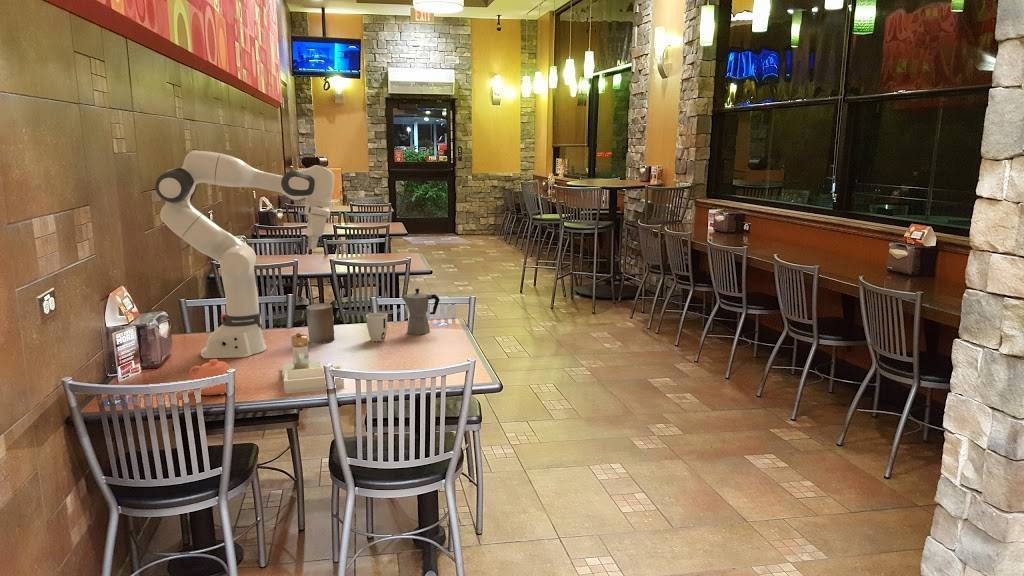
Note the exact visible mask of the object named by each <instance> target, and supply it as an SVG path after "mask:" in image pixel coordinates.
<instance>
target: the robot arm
mask: <svg viewBox="0 0 1024 576" xmlns="http://www.w3.org/2000/svg"><path fill="white" fill-rule="evenodd" d="M202 183H203V184H210V185H215V186H220V187H230V188H257V189H261V190H265V191H271V192H275V193H277V194H278V193H279V194H281V195H283V196H284V197H285V198H288V199H289V200H290V201H294V202H303V201H305V205H304V206H305V207H304V215H307V217H306V218H307V220H308V221H307V229H306V237H308V244H307V248H308V250H317V246H318V241H319V239H320V237H322V236H323V235H324V231H325V226H326V223H327V219H329V218H330V215H331V211H332V210H331V208H332V197H333V195H334V189H335V174H334V172H333V171H332V170H331V169H330V168H329V167H325V166H323V165H318V164H315V165H312V166H310V167H307V168H304V169H298V170H297V169H296V170H289V171H287V172H286V173H284V175H279V174H275V173H271V172H266V171H261V170H260V169H257V168H255V167H252V166H251V165H249V164H248V163H246V162H245V161H243V160H242V159H241V158H240V159H239V158H237V157H234V156H233V155H229V154H225V153H221V152H220V153H219V152H215V151H204V150H192V151H189V152H188V153H187V154H186V155H185V158H184V160H183V165H182V166H181V167H176V168H171V169H168V170H165V171H164V172H162V173H160V174H159V176H157V178H156V180H155V183H154V189H155V192H156V194H157V196H158V197H159V198H160V199H161V200H163V201H165V203H164V205H163V206H162V207H161V210H160V213H159V217H160V220H161V221H162V222H163V223H164V224H165V225H166V226H167V228H168V229H170V230H171V232H173V233H174V234H175V235H176V236H178V237H179V238H180V239H182V240H183V241H184V242H186V243H187V244H188V245H190V246H191V247H192V248H194V249H195V250H197V251H198V252H199V253H202V254H204V255H206V256H207V257H210V258H211V259H213V260H215V261H216V262H218V263H219V267H220V273H221V274H220V275H221V280H222V285H223V290H224V296H225V297H224V298H225V306H226V307H225V309H226V310H225V311H226V313H225V312H223V313H222V314H221V315H220V320H221V322H220V323H221V325H219V326H218V327H217V328H216V329H215V330H214V331H212V332H211V333H210V334H209V336H208V338H207V340H206V347H204V348H202V349H201V351H200V357H201V356H202V357H203V358H202V357H201V358H202V359H225V358H226V359H227V358H228V359H229V358H230V359H231V358H234V359H235V358H247V357H250V356H251V355H255V354H259V353H262V352H264V351H266V350H267V348H268V347H267V344H266V342H265V340H264V336H263V332H262V331H263V330H262V324H263V323H262V315H261V311H260V308H259V294H258V288H257V283H256V274H255V265H256V263H257V254H256V252H255V250H254V249H253V248H252V247H251V246H250V245H248V244H247V243H246V242H244V241H243V240H241V239H239V238H238V237H236V236H234V235H233V234H231V233H230V232H228V231H227V230H225V229H223V227H220V226H219V225H217V224H216V223H215V222H214V221H212V220H211V219H210V218H208V217H207V216H206V215H204V214H203V213H202V212H201V211H199V210H198V209H196V208H195V207H194V206H193V205H192V203H191V202H192V200H193V198H194V195H195V193H196V190H197V187H198V184H202Z"/></svg>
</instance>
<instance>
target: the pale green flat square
mask: <svg viewBox="0 0 1024 576" xmlns="http://www.w3.org/2000/svg"><path fill="white" fill-rule="evenodd" d="M320 367H321V361H312V362H310V361H309V368H320ZM286 370H294V367H293V363H288V364H286V363H285V364H283V365H282V372H281V380H282V381H284V375H285V371H286Z"/></svg>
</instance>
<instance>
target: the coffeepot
mask: <svg viewBox="0 0 1024 576" xmlns="http://www.w3.org/2000/svg"><path fill="white" fill-rule="evenodd" d="M400 298H401V299H402V300H403V301H404V303H405V304H406V306H407V310H408V311H407V312H408V313H409V316H408V323H407V329H406V331H407V334H409V335H412V334H416V335H415V336H420V335H419V334H423V335H427V334H429V333H430V332H431V330H430V325H429V320H428V315H427V313H428V308H429V307H428V306H429V300H435V301H434V302H433V304H434V305H433V307H432V311H430V312H429V315H436V311H437V308H438V306H439V302H440V297H439V296H438V295H437V294H431V293H430V294H427V293H422V292H420V288H415V292H413V293H410V294H406V295H405V294H404V295H402V296H401V297H400ZM428 332H429V333H428ZM426 333H427V334H426Z"/></svg>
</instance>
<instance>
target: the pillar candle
mask: <svg viewBox="0 0 1024 576" xmlns="http://www.w3.org/2000/svg"><path fill="white" fill-rule="evenodd" d="M333 310H334V309H333V304H330V303H325V302H324V303H323V302H322V303H321V302H319V303H315V304H310V305H308V306H306V317H307V318H306V319H307V331H308V342H309V341H310V342H309V343H312V344H315V343H321V344H326V343H331V342H334V341H335V339H336V338H335V328H334V327H335V326H334V312H333Z"/></svg>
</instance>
